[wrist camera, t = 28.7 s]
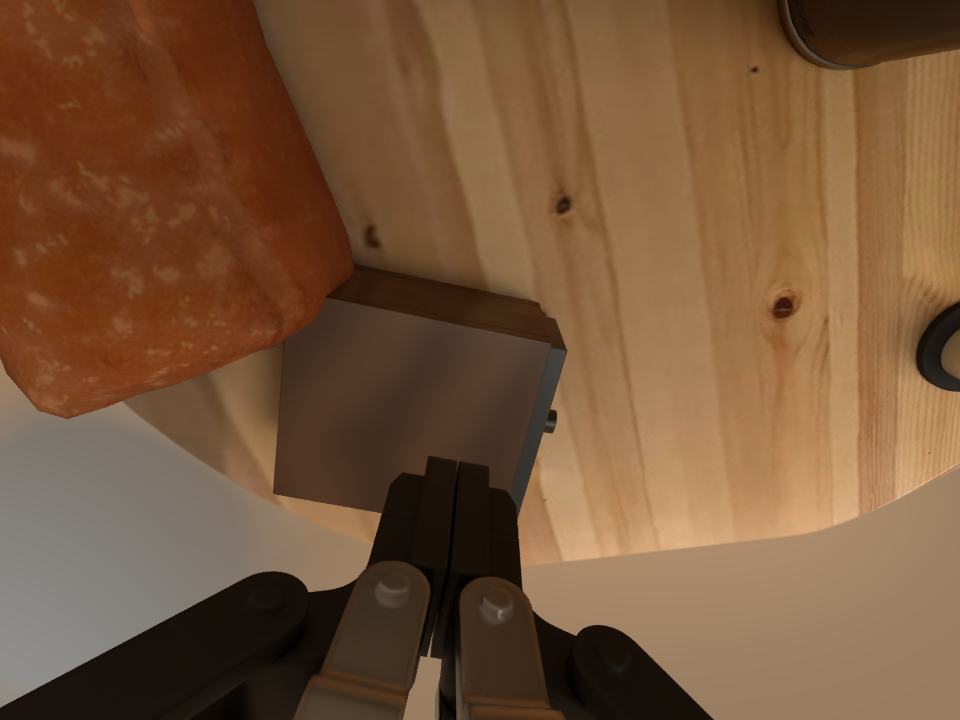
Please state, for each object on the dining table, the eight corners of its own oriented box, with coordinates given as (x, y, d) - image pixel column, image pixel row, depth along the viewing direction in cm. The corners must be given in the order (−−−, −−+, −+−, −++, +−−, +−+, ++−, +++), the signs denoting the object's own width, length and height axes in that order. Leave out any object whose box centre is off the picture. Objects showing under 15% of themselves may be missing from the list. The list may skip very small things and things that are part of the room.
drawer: (572, 322, 37) (587, 354, 32) (528, 472, 42) (534, 523, 36) (358, 277, 36) (335, 303, 31) (337, 437, 41) (315, 484, 35)
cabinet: (539, 302, 37) (552, 343, 30) (496, 466, 43) (498, 534, 36) (326, 258, 36) (287, 289, 29) (309, 432, 42) (272, 494, 35)
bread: (201, -147, 28) (-69, -411, 14) (375, 289, 37) (311, 381, 23) (-71, -28, 30) (-531, -159, 17) (156, 357, 39) (-20, 477, 26)
